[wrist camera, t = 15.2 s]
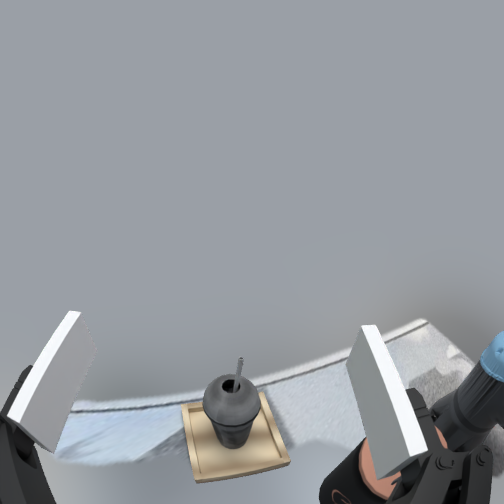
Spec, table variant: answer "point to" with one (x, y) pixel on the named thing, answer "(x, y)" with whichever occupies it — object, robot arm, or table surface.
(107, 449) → the table surface
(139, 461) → the table surface
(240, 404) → the beverage cup
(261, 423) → the tray
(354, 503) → the coffee jar
